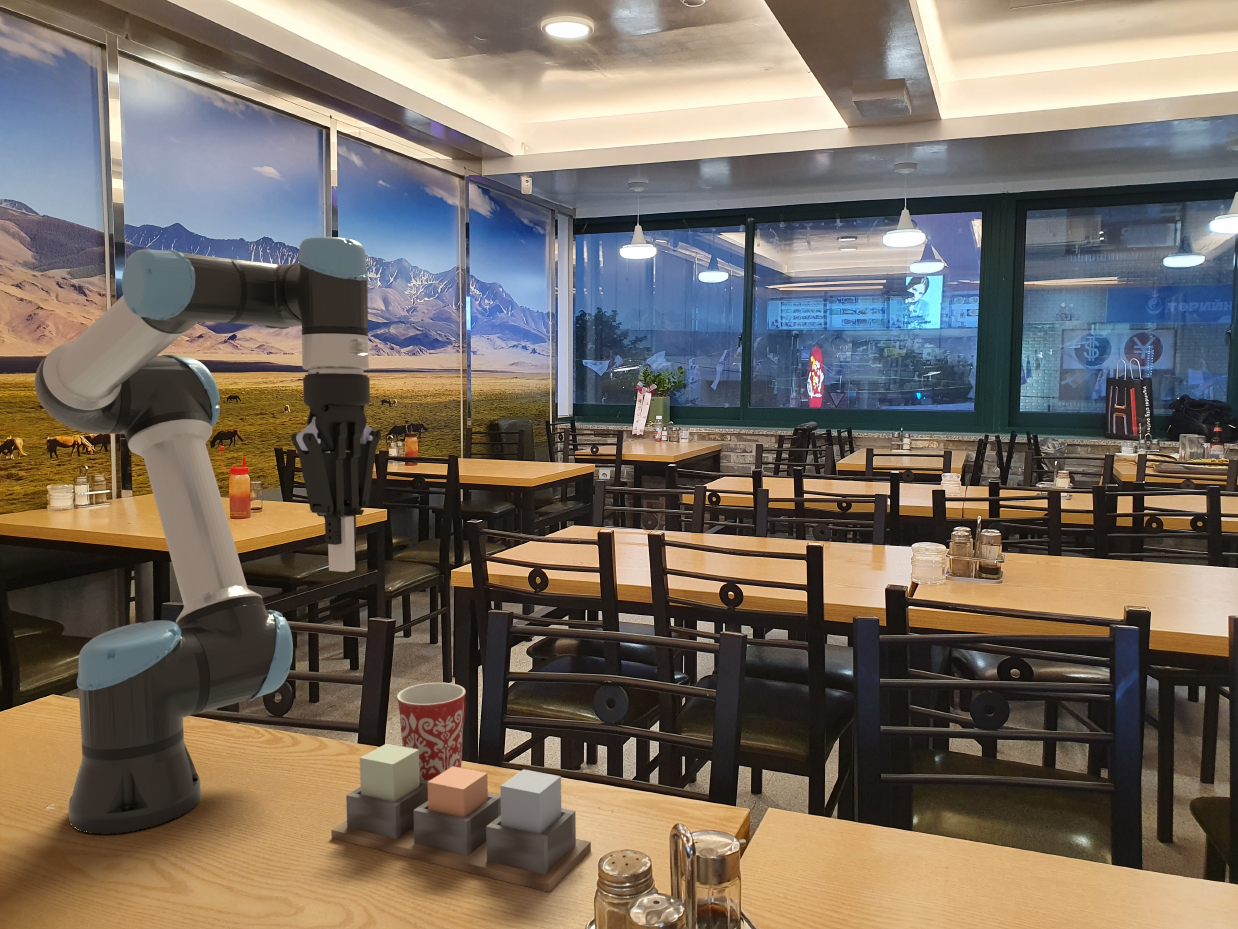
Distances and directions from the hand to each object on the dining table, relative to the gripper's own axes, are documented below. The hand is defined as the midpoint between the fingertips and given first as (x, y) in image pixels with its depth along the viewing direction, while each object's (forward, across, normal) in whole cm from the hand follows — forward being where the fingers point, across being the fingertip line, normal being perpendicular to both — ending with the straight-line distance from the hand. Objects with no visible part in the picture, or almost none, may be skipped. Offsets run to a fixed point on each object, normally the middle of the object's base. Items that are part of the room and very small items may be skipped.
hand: (342, 570), depth 109 cm
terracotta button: (+30, +3, -14) cm, 34 cm away
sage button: (+29, +3, -4) cm, 29 cm away
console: (+32, +3, -14) cm, 35 cm away
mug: (+33, +16, -2) cm, 36 cm away
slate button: (+29, +3, -24) cm, 38 cm away
